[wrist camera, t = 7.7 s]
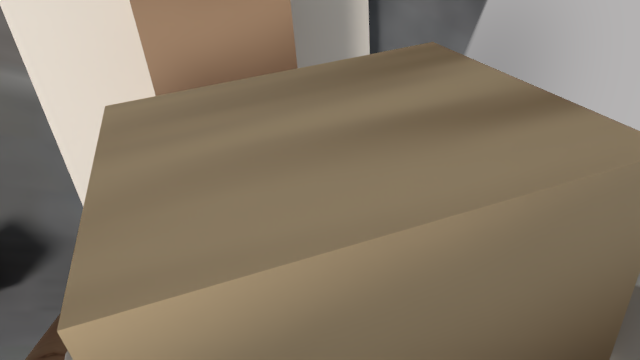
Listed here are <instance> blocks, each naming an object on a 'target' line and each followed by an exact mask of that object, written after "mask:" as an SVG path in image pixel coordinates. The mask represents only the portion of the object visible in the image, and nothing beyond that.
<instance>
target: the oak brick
mask: <svg viewBox="0 0 640 360" xmlns="http://www.w3.org/2000/svg"><path fill="white" fill-rule="evenodd" d="M639 273H640V131H638V130H635V129H633V128H631V127H629V126H626V125H624V124H622V123H619V122H617V121H615V120H612V119H610V118H608V117H606V116H603V115H601V114H599V113H596V112H594V111H592V110H589V109H587V108H585V107H582V106H580V105H578V104H575V103H573V102H571V101H568V100H566V99H564V98H562V97H559V96H557V95H555V94H552V93H550V92H547V91H545V90H543V89H541V88H538V87H536V86H534V85H531V84H529V83H527V82H524V81H522V80H520V79H517V78H515V77H513V76H510V75H508V74H506V73H504V72H501V71H499V70H497V69H494V68H492V67H490V66H487V65H485V64H483V63H480V62H478V61H476V60H473V59H471V58H469V57H466V56H464V55H462V54H459V53H457V52H455V51H452V50H450V49H448V48H445V47H443V46H441V45H439V44H436V43H434V42H431V43H425V44H420V45H415V46H410V47H405V48H400V49H395V50H390V51H384V52H379V53H374V54H369V55H364V56H359V57H354V58H349V59H343V60H338V61H333V62H328V63H323V64H318V65H313V66H308V67H302V68H297V69H292V70H287V71H282V72H277V73H272V74H267V75H262V76H256V77H251V78H246V79H241V80H236V81H231V82H226V83H221V84H215V85H210V86H205V87H200V88H195V89H190V90H185V91H180V92H174V93H169V94H164V95H159V96H154V97H149V98H144V99H139V100H133V101H128V102H123V103H118V104H113V105H108V106H105V109H104V114H103V118H102V123H101V128H100V132H99V137H98V142H97V146H96V151H95V156H94V160H93V165H92V170H91V174H90V179H89V183H88V188H87V193H86V197H85V202H84V207H83V211H82V216H81V221H80V225H79V230H78V235H77V239H76V244H75V249H74V253H73V258H72V263H71V267H70V272H69V277H68V281H67V286H66V290H65V295H64V300H63V304H62V309H61V314H60V318H59V323H58V328H57V332H58V334H59V336H60V338H61V339H62V341H63V343H64V345H65V346H66V348H67V350H68V352H69V353H70V355H71V357H72V359H73V360H610V357H611V354H612V351H613V348H614V345H615V342H616V339H617V336H618V334H619V331H620V328H621V325H622V322H623V319H624V316H625V313H626V310H627V307H628V305H629V302H630V299H631V296H632V293H633V290H634V287H635V284H636V281H637V278H638V276H639Z"/></svg>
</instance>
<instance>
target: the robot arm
mask: <svg viewBox="0 0 640 360" xmlns="http://www.w3.org/2000/svg"><path fill="white" fill-rule="evenodd" d="M65 360H73V359H72V357H71V355H70V353H69V352H68V351H67V352H66V354H65ZM610 360H640V273H639V276H638V278H637V281H636V284H635V287H634V290H633V293H632V296H631V299H630V302H629V305H628V307H627V310H626V313H625V316H624V319H623V322H622V325H621V328H620V331H619V334H618V336H617V339H616V342H615V345H614V348H613V351H612V354H611V357H610Z"/></svg>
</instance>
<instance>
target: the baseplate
mask: <svg viewBox="0 0 640 360" xmlns="http://www.w3.org/2000/svg"><path fill="white" fill-rule="evenodd" d="M290 2H291V11H292V20H293V30H294V39H295V48H296V58H297V67H298V68H302V67H308V66H313V65H318V64H323V63H328V62H333V61H338V60H343V59H349V58H354V57H359V56H364V55H369V54H370V45H369V6H368V0H290ZM0 6H1V8H2V11H3V13H4V15H5V18H6V20H7V23H8V25H9V28H10V30H11V32H12V35H13V37H14V40H15V42H16V45H17V47H18V49H19V52H20V54H21V57H22V59H23V62H24V64H25V66H26V69H27V71H28V74H29V76H30V78H31V81H32V83H33V86H34V88H35V91H36V93H37V95H38V98H39V100H40V103H41V105H42V108H43V110H44V112H45V115H46V117H47V120H48V122H49V125H50V127H51V129H52V132H53V134H54V137H55V139H56V142H57V144H58V146H59V149H60V151H61V154H62V156H63V159H64V161H65V163H66V166H67V168H68V171H69V173H70V175H71V178H72V180H73V183H74V185H75V188H76V190H77V192H78V195H79V197H80V200H81V202H82V205H83V207H84V202H85V197H86V193H87V188H88V183H89V179H90V174H91V170H92V165H93V160H94V156H95V151H96V146H97V142H98V137H99V132H100V128H101V123H102V118H103V114H104V109H105V106H108V105H113V104H118V103H123V102H128V101H133V100H139V99H144V98H149V97H154V96H156V95H155V91H154V88H153V84H152V81H151V77H150V73H149V70H148V66H147V62H146V59H145V55H144V52H143V48H142V44H141V41H140V37H139V33H138V30H137V26H136V22H135V19H134V15H133V12H132V8H131V4H130V0H0Z"/></svg>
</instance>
